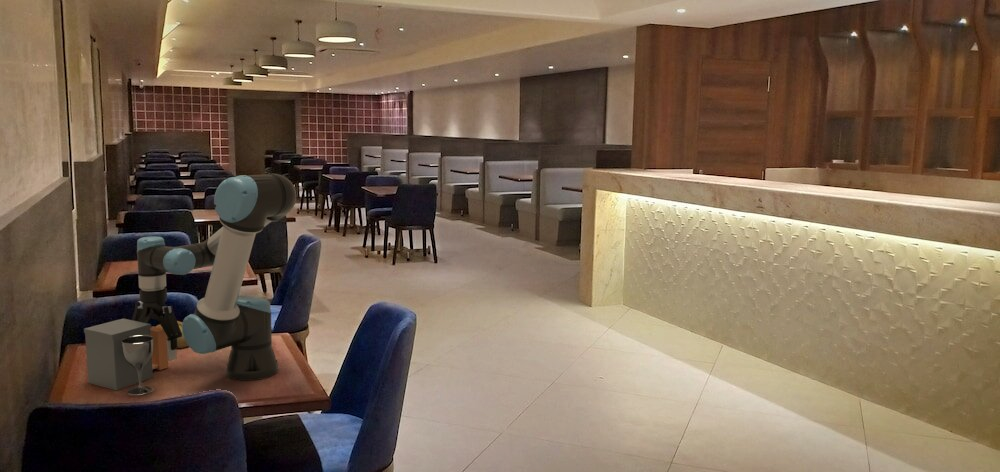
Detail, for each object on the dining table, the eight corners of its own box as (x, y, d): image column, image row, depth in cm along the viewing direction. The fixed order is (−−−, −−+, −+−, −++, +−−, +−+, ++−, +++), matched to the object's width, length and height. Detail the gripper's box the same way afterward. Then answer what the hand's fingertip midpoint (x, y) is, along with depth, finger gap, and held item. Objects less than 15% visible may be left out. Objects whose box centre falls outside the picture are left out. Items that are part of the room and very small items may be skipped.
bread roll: (165, 338, 263) (164, 315, 262) (199, 343, 258) (198, 320, 257) (143, 346, 255) (141, 322, 253) (178, 351, 249) (177, 328, 248)
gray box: (154, 377, 225) (151, 323, 223) (115, 390, 214) (112, 334, 211) (127, 370, 231) (123, 318, 228) (87, 383, 219) (83, 328, 217)
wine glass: (118, 393, 212) (114, 341, 210) (140, 384, 220) (137, 333, 217) (140, 397, 209) (137, 344, 207) (162, 388, 217) (159, 337, 214)
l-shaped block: (168, 367, 233) (166, 329, 231) (137, 377, 224) (134, 338, 222) (154, 363, 236) (152, 326, 234) (123, 374, 226) (121, 335, 224)
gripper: (192, 290, 227) (195, 359, 231) (135, 281, 238) (139, 346, 241) (171, 295, 220) (175, 366, 224) (114, 285, 231) (118, 353, 235)
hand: (156, 356), depth 233 cm, fingers open, 13 cm apart
